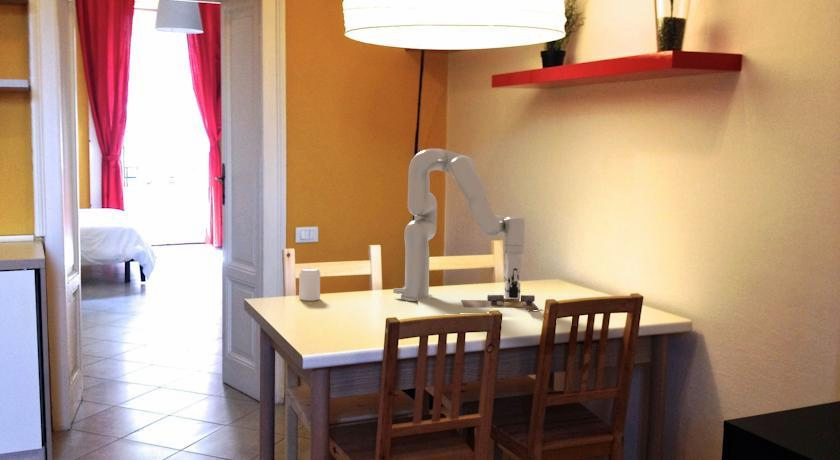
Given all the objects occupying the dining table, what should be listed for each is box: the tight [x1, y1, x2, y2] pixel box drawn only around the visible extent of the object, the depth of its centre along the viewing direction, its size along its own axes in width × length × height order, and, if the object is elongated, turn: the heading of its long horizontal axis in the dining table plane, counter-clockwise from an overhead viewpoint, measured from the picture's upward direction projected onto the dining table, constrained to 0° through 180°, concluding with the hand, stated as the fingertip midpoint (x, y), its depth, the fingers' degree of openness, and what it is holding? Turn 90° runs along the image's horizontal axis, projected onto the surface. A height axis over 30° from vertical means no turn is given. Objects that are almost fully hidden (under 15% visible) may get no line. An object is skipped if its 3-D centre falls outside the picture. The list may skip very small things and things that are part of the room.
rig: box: [460, 294, 539, 311], centre depth 306 cm, size 28×13×5 cm, turn 93°
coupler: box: [504, 280, 521, 300], centre depth 305 cm, size 5×5×6 cm
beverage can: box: [298, 267, 321, 302], centre depth 311 cm, size 8×8×12 cm
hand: (512, 295), depth 306 cm, fingers closed on coupler, 5 cm apart
